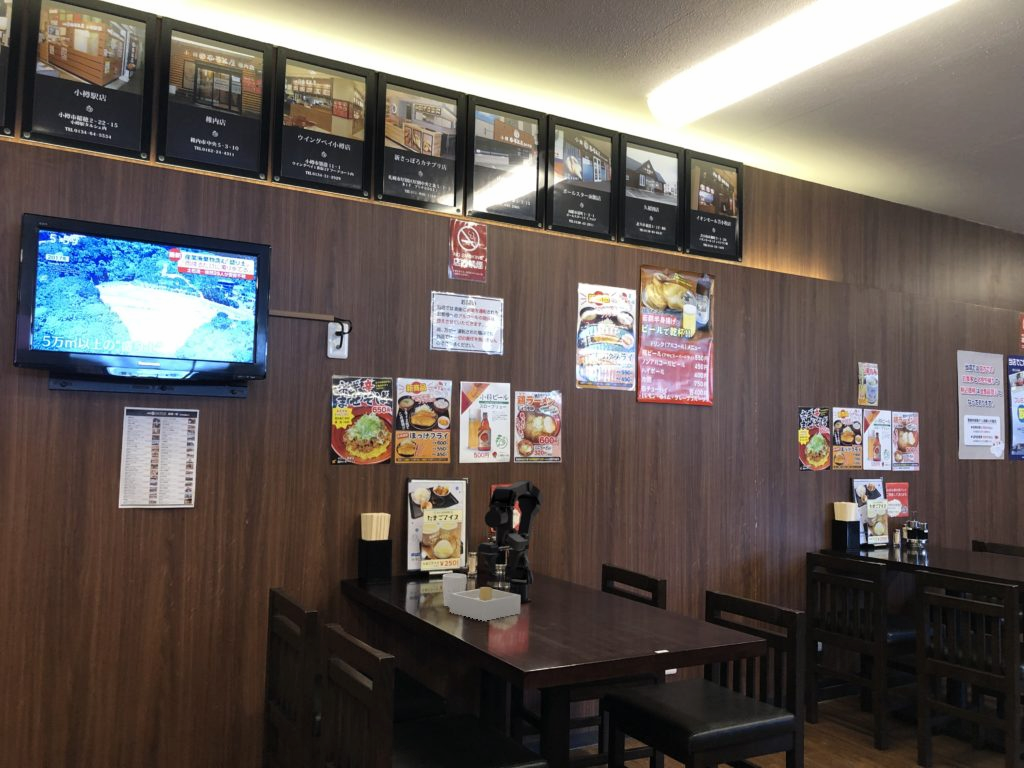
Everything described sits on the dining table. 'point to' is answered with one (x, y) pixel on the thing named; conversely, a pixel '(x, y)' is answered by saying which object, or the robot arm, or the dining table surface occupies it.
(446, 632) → the dining table surface
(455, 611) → the socket box
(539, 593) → the dining table surface
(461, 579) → the white cup
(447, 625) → the dining table surface
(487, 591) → the peg
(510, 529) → the robot arm
